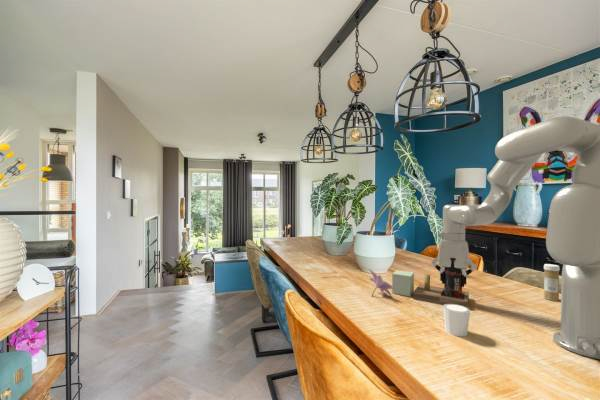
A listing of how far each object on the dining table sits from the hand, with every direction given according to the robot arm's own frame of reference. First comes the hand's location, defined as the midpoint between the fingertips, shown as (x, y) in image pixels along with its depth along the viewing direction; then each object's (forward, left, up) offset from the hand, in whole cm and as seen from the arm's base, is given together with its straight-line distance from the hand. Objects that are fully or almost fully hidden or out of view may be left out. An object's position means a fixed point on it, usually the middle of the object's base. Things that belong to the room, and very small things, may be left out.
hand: (453, 284), depth 106 cm
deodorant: (0, 0, -5) cm, 5 cm away
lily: (-10, +25, -7) cm, 28 cm away
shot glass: (-28, -3, -7) cm, 29 cm away
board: (0, +4, -6) cm, 8 cm away
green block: (-1, +18, -6) cm, 19 cm away
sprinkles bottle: (+24, -32, -7) cm, 40 cm away
